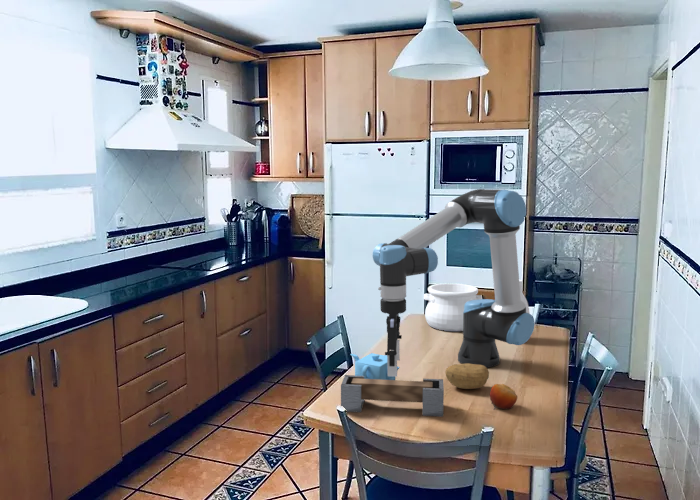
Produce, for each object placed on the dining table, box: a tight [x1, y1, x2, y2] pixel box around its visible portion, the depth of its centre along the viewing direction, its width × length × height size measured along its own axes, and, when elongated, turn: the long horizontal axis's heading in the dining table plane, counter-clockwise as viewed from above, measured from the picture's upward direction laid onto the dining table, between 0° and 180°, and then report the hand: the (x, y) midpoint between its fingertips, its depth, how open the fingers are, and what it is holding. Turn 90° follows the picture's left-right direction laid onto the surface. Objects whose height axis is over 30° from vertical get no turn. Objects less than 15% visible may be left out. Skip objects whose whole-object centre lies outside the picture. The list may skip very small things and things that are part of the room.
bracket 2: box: [422, 378, 445, 418], centre depth 177 cm, size 6×9×8 cm, turn 172°
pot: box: [423, 282, 483, 332], centre depth 269 cm, size 26×24×18 cm
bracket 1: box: [340, 374, 365, 413], centre depth 180 cm, size 6×9×8 cm, turn 172°
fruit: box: [489, 383, 518, 410], centre depth 179 cm, size 8×8×8 cm
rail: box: [351, 378, 433, 404], centre depth 178 cm, size 24×4×5 cm, turn 82°
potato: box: [444, 363, 490, 390], centre depth 194 cm, size 10×14×8 cm
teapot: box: [350, 352, 400, 380], centre depth 195 cm, size 16×18×11 cm
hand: (393, 367), depth 178 cm, fingers open, 13 cm apart
